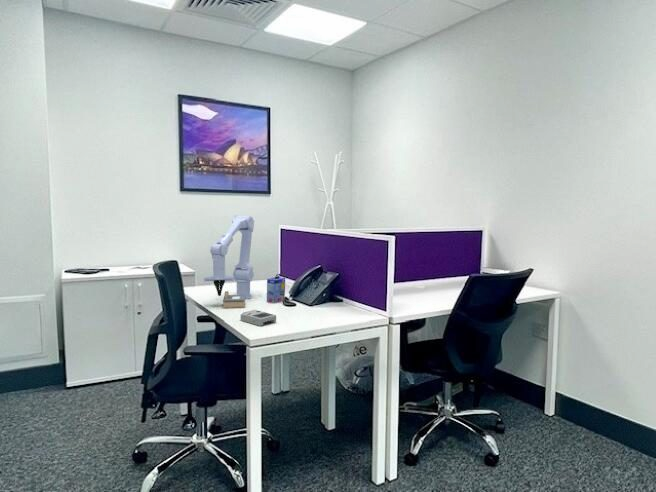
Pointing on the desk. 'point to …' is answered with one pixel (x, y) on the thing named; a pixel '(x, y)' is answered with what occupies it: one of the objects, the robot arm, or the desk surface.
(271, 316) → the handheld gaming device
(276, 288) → the ink cartridge box
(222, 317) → the desk surface
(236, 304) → the kraft box
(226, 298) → the lid
